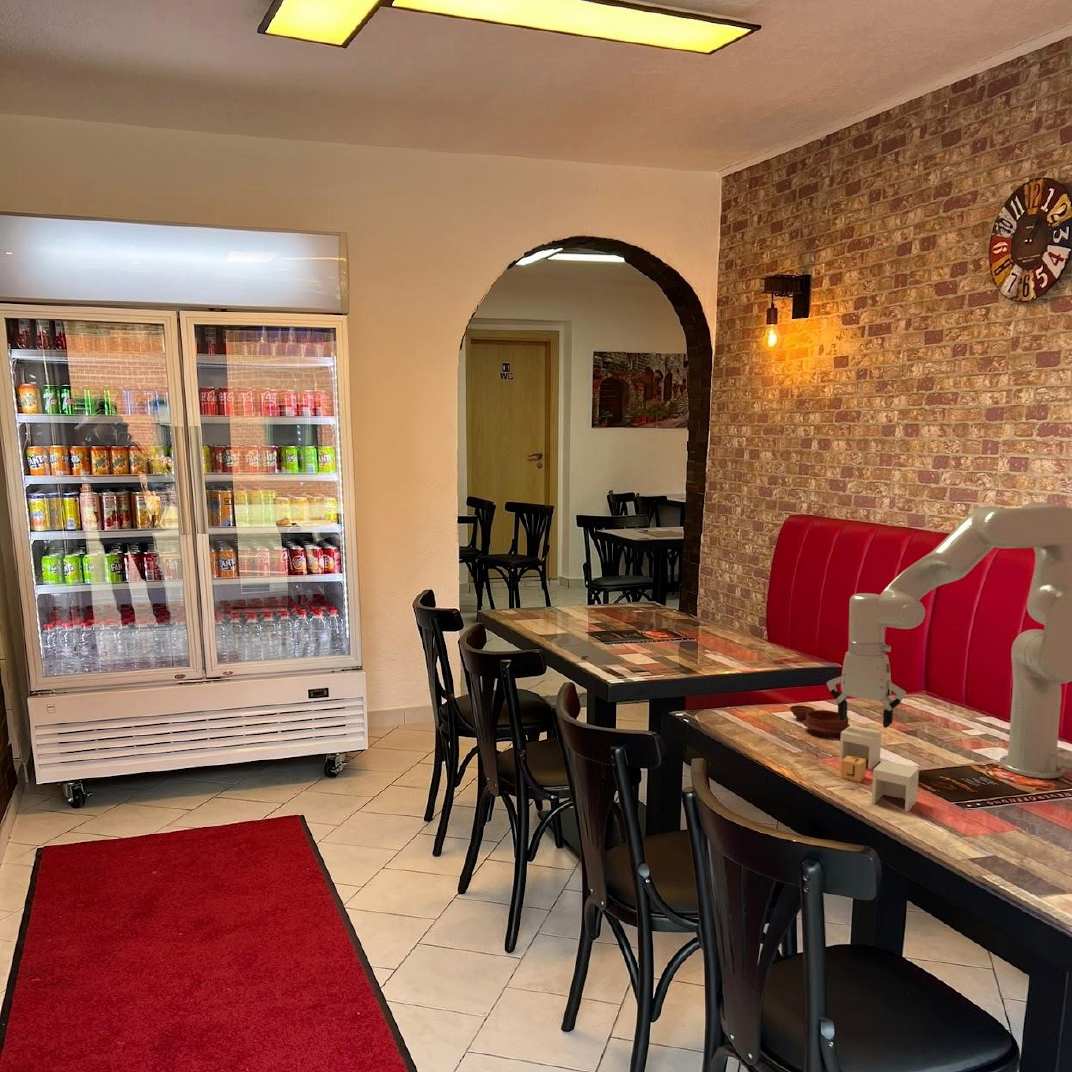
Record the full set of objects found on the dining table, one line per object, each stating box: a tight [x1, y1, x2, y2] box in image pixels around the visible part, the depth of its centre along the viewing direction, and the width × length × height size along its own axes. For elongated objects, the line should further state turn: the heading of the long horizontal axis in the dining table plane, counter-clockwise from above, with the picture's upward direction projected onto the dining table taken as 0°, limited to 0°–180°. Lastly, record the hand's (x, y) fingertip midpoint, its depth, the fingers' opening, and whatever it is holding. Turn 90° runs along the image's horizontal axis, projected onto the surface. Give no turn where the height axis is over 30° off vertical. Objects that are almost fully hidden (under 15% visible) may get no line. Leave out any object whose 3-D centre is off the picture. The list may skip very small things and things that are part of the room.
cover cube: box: [839, 724, 882, 770], centre depth 204 cm, size 7×7×7 cm
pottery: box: [789, 704, 851, 737], centre depth 230 cm, size 12×20×4 cm, turn 16°
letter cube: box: [840, 755, 867, 783], centre depth 194 cm, size 4×4×4 cm
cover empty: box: [870, 759, 920, 813], centre depth 180 cm, size 7×7×7 cm
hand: (864, 722), depth 204 cm, fingers open, 9 cm apart
